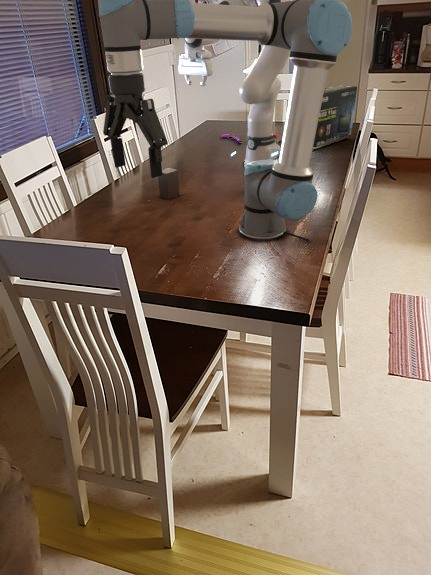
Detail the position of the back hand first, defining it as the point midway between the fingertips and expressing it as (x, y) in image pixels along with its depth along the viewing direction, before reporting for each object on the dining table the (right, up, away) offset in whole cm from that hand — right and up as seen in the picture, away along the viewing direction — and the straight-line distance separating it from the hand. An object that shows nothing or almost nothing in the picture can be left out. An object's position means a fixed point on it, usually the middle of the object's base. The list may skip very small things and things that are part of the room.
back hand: (196, 85), depth 221 cm
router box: (+68, -21, +23) cm, 75 cm away
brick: (-9, -61, -39) cm, 73 cm away
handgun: (+19, -15, +36) cm, 43 cm away
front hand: (-9, -70, -113) cm, 133 cm away
